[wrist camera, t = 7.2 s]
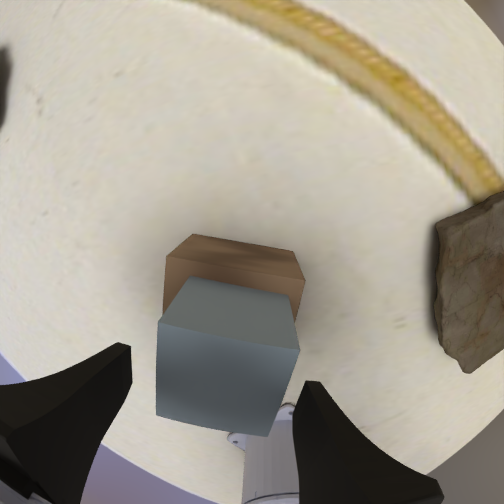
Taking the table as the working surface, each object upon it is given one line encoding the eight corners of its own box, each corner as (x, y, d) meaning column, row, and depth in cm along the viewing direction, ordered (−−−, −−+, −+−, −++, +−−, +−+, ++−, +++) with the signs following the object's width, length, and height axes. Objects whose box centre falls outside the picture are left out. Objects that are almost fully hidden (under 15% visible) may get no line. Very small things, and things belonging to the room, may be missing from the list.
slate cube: (288, 294, 14) (300, 350, 10) (266, 372, 16) (267, 437, 11) (190, 275, 14) (158, 322, 9) (181, 355, 16) (156, 415, 11)
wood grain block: (292, 250, 20) (305, 280, 14) (273, 337, 22) (276, 387, 16) (193, 233, 20) (166, 256, 14) (183, 321, 22) (161, 366, 16)
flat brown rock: (526, 176, 18) (554, 180, 13) (528, 302, 21) (550, 316, 17) (409, 221, 19) (439, 231, 15) (423, 367, 23) (442, 392, 19)
